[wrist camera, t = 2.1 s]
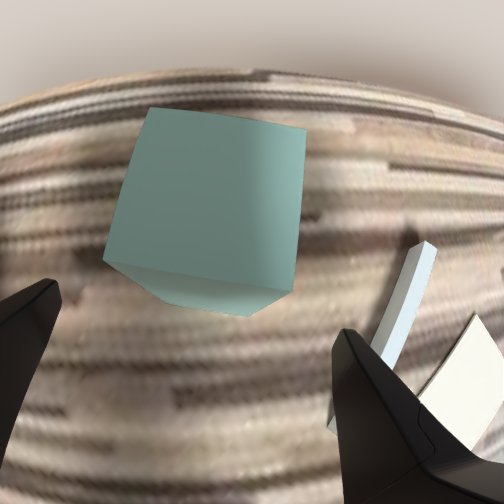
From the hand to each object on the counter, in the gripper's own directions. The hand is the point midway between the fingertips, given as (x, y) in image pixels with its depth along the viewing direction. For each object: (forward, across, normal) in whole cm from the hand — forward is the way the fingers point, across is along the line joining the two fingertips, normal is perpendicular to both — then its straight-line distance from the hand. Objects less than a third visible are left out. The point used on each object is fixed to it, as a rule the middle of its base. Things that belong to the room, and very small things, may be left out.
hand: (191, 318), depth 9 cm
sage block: (+10, 0, +5) cm, 11 cm away
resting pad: (+5, -22, +10) cm, 24 cm away
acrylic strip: (+8, -12, +7) cm, 16 cm away
